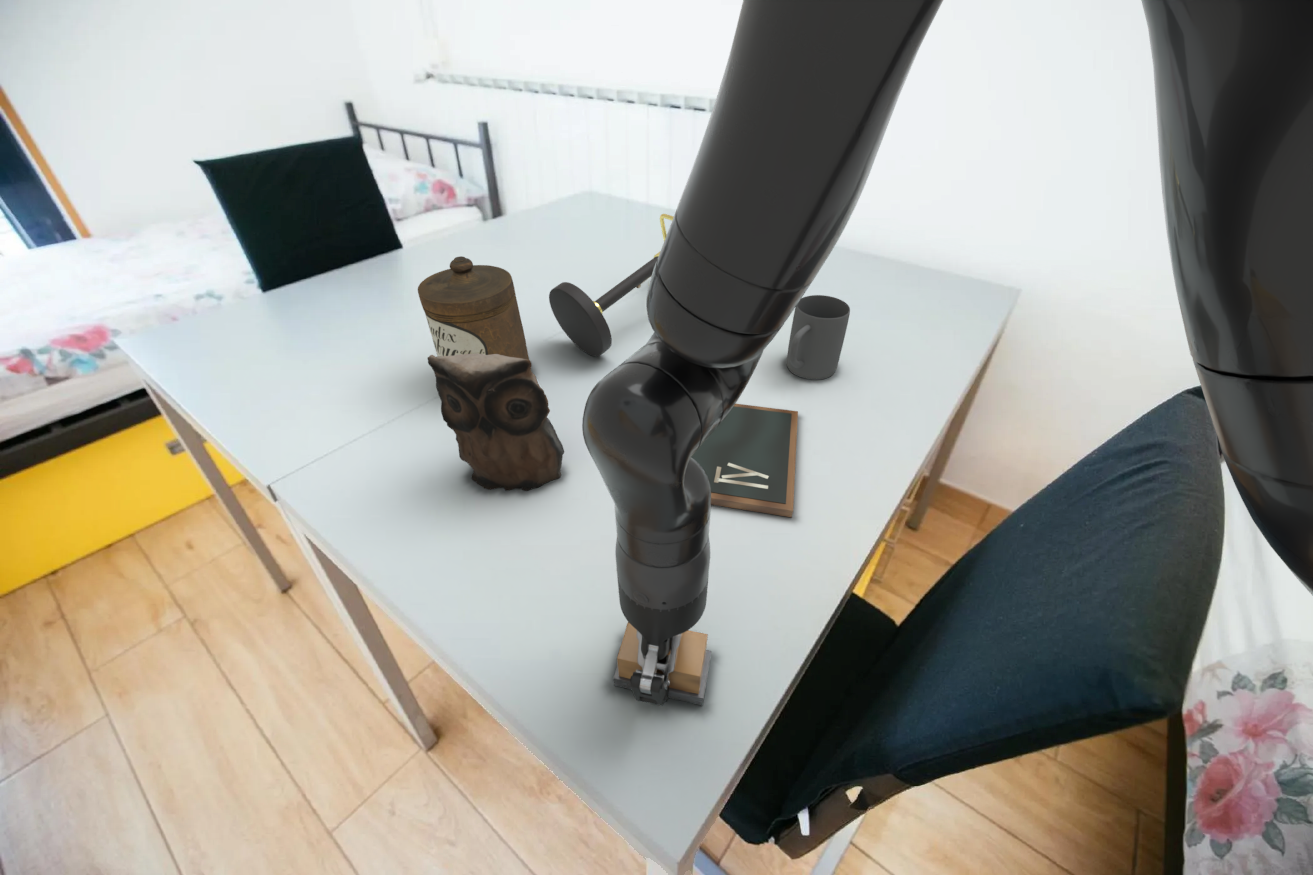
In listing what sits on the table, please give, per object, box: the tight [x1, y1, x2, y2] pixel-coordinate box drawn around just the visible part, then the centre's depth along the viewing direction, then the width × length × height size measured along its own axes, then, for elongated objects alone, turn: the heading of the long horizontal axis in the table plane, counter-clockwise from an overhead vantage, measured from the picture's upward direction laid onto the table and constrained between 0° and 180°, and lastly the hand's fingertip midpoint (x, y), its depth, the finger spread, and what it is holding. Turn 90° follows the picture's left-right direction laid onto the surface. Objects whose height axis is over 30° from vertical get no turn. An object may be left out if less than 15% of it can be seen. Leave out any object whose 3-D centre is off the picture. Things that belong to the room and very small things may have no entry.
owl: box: [427, 353, 565, 492], centre depth 72 cm, size 13×13×20 cm
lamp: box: [548, 213, 674, 358], centre depth 108 cm, size 27×23×40 cm
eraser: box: [612, 621, 712, 706], centre depth 53 cm, size 9×5×5 cm, turn 77°
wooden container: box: [417, 256, 532, 371], centre depth 90 cm, size 15×15×22 cm
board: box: [691, 403, 799, 518], centre depth 80 cm, size 18×22×2 cm
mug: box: [786, 294, 851, 381], centre depth 94 cm, size 14×9×12 cm
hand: (663, 669), depth 55 cm, fingers closed on eraser, 5 cm apart
